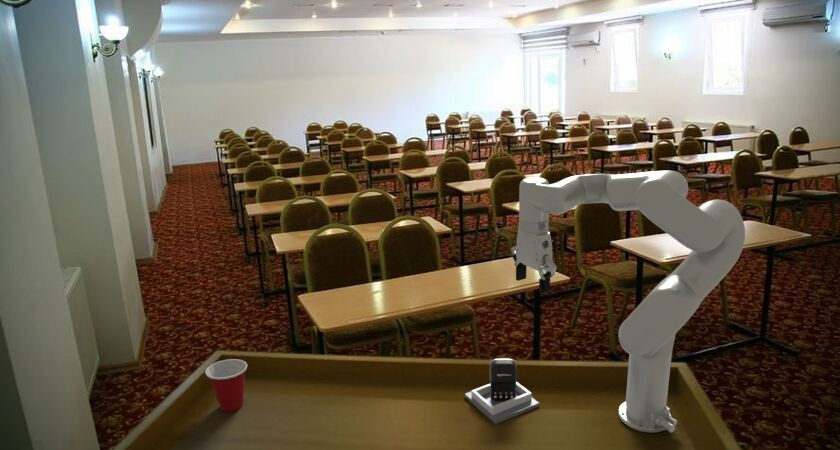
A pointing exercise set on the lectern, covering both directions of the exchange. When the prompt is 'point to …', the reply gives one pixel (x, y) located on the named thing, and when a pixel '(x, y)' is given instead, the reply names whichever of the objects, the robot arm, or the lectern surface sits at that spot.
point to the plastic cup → (228, 383)
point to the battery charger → (503, 379)
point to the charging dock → (501, 403)
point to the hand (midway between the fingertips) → (532, 285)
